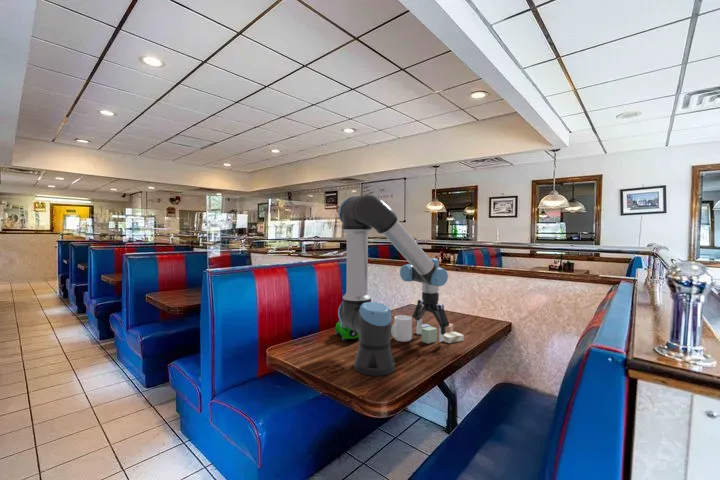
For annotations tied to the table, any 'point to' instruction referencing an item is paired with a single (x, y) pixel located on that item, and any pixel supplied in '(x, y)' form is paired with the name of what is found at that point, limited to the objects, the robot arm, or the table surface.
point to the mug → (402, 328)
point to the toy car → (345, 332)
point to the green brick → (429, 334)
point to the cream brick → (453, 337)
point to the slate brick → (423, 327)
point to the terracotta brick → (449, 328)
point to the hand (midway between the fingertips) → (429, 337)
